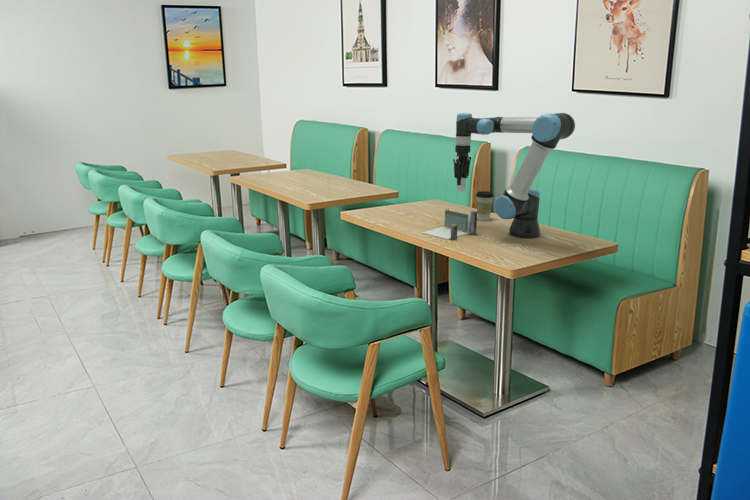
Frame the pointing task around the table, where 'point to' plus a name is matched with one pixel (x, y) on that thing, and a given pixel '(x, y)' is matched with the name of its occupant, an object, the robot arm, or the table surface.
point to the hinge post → (473, 222)
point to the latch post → (454, 232)
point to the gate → (458, 220)
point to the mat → (443, 233)
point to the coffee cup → (484, 205)
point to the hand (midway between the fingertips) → (460, 190)
